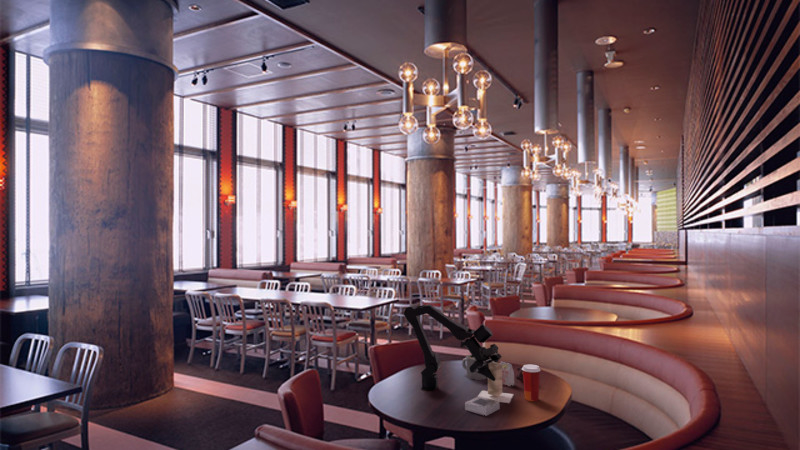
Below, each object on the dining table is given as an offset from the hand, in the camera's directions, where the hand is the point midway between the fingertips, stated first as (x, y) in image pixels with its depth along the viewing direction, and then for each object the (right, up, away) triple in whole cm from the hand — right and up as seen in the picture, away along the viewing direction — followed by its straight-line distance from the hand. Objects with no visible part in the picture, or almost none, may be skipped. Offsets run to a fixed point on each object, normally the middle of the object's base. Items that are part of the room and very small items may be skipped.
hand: (497, 379), depth 213 cm
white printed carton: (+8, -8, +19) cm, 22 cm away
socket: (-9, -8, -13) cm, 18 cm away
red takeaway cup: (+18, -8, +22) cm, 29 cm away
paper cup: (+14, -8, -2) cm, 16 cm away
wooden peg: (-1, -7, +1) cm, 7 cm away
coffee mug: (-5, -9, +32) cm, 34 cm away
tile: (-1, -8, +1) cm, 8 cm away
